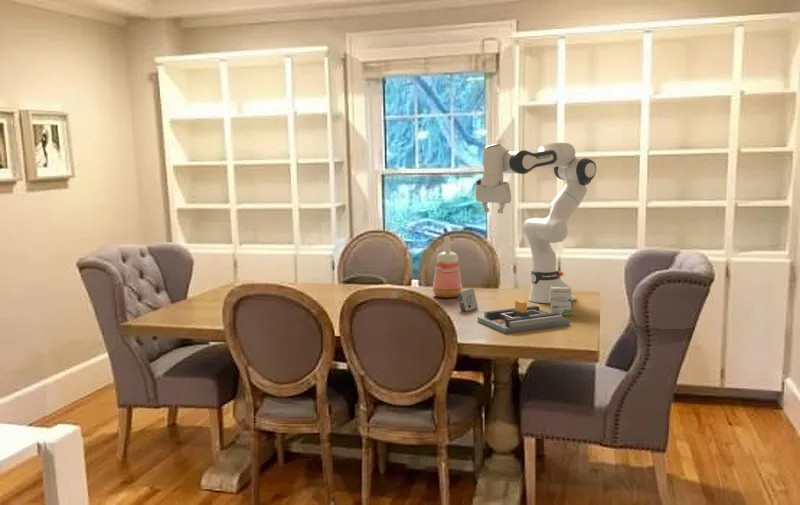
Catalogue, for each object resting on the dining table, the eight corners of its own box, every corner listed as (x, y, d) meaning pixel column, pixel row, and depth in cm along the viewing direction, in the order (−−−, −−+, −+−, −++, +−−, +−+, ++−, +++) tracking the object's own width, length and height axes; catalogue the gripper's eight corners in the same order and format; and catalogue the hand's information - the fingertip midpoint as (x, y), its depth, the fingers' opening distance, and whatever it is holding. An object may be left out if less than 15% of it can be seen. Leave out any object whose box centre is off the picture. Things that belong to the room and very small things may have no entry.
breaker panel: (538, 313, 289) (538, 304, 288) (569, 324, 268) (569, 315, 268) (477, 321, 277) (477, 312, 277) (505, 333, 257) (505, 323, 257)
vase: (467, 295, 332) (466, 236, 327) (453, 300, 320) (452, 239, 315) (441, 292, 339) (440, 234, 335) (427, 297, 327) (426, 237, 323)
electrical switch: (467, 312, 295) (465, 291, 294) (457, 311, 298) (455, 291, 297) (478, 308, 302) (476, 288, 301) (468, 308, 305) (467, 288, 305)
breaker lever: (521, 316, 276) (521, 299, 275) (529, 319, 270) (529, 302, 269) (512, 317, 274) (512, 300, 273) (520, 320, 269) (520, 303, 268)
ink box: (571, 313, 288) (571, 286, 287) (571, 315, 284) (571, 288, 282) (550, 312, 290) (550, 286, 289) (550, 315, 286) (550, 288, 284)
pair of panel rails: (533, 310, 287) (533, 304, 286) (563, 320, 267) (563, 314, 267) (484, 316, 278) (484, 310, 277) (511, 327, 258) (511, 321, 258)
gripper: (514, 181, 285) (514, 213, 287) (484, 180, 302) (484, 211, 304) (503, 182, 281) (503, 214, 283) (473, 181, 299) (473, 212, 301)
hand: (493, 212), depth 294 cm, fingers open, 8 cm apart
